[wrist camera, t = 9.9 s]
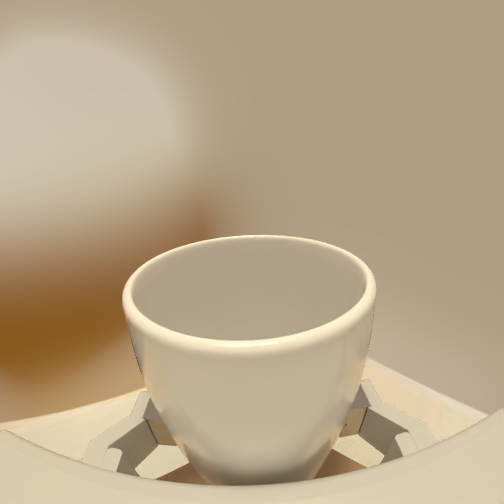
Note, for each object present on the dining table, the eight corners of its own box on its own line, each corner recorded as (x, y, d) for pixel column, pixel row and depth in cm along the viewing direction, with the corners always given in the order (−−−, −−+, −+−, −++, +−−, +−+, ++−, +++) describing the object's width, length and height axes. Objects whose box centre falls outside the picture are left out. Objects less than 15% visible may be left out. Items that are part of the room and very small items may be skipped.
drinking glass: (276, 435, 17) (278, 224, 12) (338, 497, 11) (428, 276, 6) (189, 472, 13) (110, 258, 9) (239, 550, 8) (147, 409, 3)
